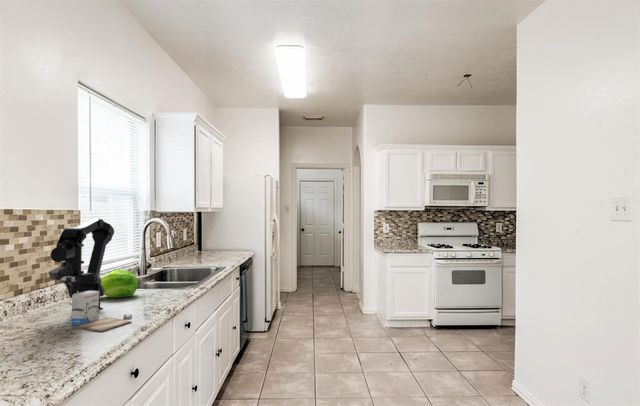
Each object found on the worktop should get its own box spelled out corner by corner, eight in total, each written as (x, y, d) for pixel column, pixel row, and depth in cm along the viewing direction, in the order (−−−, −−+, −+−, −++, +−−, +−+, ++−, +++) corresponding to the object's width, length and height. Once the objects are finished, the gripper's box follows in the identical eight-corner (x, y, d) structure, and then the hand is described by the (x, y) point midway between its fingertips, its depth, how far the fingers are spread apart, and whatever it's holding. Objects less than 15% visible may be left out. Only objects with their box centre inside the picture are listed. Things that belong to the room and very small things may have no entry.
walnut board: (74, 327, 141) (74, 326, 141) (105, 318, 153) (105, 317, 153) (101, 332, 136) (101, 330, 136) (131, 322, 148) (131, 321, 148)
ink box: (81, 326, 143) (82, 295, 143) (70, 325, 144) (71, 294, 145) (99, 319, 152) (99, 290, 152) (88, 318, 153) (89, 290, 153)
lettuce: (86, 307, 181) (97, 303, 195) (135, 294, 186) (143, 292, 201) (81, 277, 182) (92, 276, 197) (130, 265, 188) (138, 265, 202)
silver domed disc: (121, 319, 154) (121, 315, 154) (128, 317, 156) (128, 313, 157) (127, 319, 152) (127, 316, 152) (133, 317, 155) (133, 314, 155)
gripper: (36, 259, 147) (35, 299, 147) (69, 262, 140) (68, 304, 140) (65, 256, 158) (64, 294, 157) (96, 259, 151) (95, 298, 150)
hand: (72, 297), depth 151 cm, fingers closed
